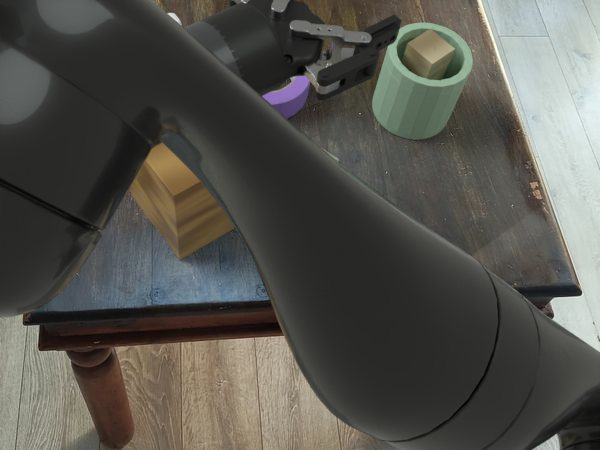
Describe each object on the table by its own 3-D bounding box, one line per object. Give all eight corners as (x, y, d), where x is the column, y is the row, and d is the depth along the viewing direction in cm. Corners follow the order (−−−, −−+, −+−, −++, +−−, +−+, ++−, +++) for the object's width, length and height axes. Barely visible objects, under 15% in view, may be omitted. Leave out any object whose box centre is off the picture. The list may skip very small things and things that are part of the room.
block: (432, 104, 90) (455, 48, 82) (411, 119, 89) (432, 63, 80) (410, 85, 91) (430, 28, 83) (389, 99, 90) (407, 42, 81)
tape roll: (327, 94, 90) (331, 73, 87) (258, 139, 85) (259, 119, 82) (267, 40, 94) (269, 18, 91) (197, 80, 89) (197, 59, 86)
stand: (254, 216, 80) (261, 148, 69) (179, 260, 76) (173, 196, 65) (205, 156, 83) (204, 82, 72) (131, 195, 80) (118, 123, 68)
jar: (464, 118, 91) (490, 63, 82) (407, 152, 87) (428, 99, 78) (412, 68, 94) (432, 11, 86) (356, 99, 90) (371, 42, 82)
